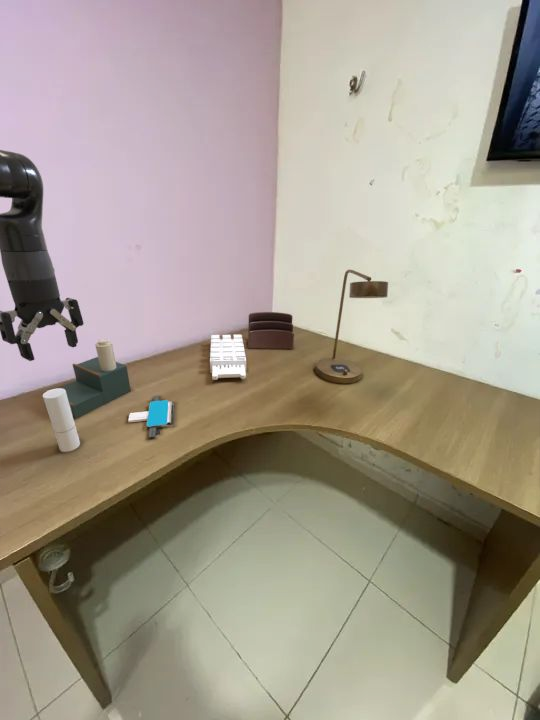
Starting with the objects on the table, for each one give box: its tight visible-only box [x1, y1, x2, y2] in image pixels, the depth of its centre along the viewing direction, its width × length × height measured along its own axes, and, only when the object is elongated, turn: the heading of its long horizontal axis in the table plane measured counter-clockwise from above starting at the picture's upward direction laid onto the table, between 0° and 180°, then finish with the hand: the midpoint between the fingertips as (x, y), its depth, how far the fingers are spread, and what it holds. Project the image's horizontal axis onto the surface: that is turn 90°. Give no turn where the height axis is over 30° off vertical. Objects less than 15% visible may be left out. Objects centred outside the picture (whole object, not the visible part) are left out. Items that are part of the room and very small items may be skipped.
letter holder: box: [247, 311, 295, 350], centre depth 137 cm, size 10×20×14 cm, turn 93°
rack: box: [44, 356, 132, 420], centre depth 93 cm, size 13×18×10 cm
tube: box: [42, 387, 81, 453], centre depth 72 cm, size 4×4×15 cm
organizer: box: [209, 334, 247, 381], centre depth 121 cm, size 13×5×35 cm
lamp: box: [315, 269, 389, 385], centre depth 105 cm, size 17×27×38 cm, turn 8°
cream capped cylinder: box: [95, 338, 117, 371], centre depth 92 cm, size 4×4×9 cm
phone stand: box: [127, 395, 175, 440], centre depth 87 cm, size 20×12×2 cm, turn 15°
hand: (52, 352), depth 66 cm, fingers open, 8 cm apart
